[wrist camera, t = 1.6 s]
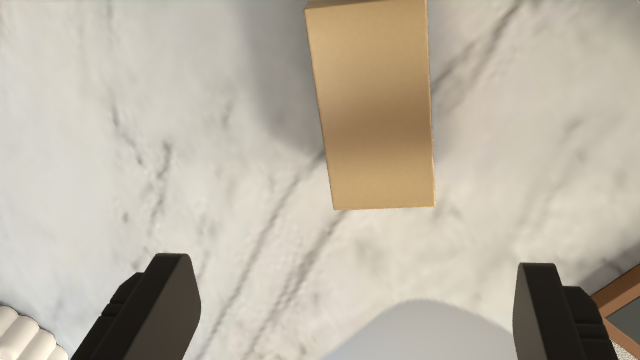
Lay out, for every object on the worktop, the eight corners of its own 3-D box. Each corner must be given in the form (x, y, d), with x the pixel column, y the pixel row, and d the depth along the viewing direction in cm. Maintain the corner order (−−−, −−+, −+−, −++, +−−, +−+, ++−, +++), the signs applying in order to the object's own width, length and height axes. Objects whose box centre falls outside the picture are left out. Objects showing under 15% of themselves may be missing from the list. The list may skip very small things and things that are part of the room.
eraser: (317, -13, 27) (303, 8, 24) (424, -25, 26) (426, -6, 23) (342, 171, 32) (333, 210, 28) (433, 167, 31) (435, 207, 27)
